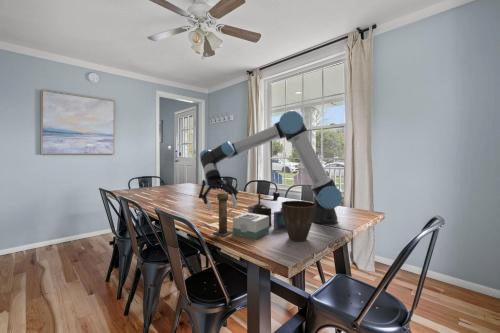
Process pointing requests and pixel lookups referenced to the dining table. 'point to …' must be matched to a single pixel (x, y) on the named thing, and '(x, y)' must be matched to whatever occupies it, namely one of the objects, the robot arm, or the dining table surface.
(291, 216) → the plant pot
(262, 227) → the tissue box
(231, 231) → the mat
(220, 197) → the brown knobbed cylinder
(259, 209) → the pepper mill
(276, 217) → the flask
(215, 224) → the dining table surface
